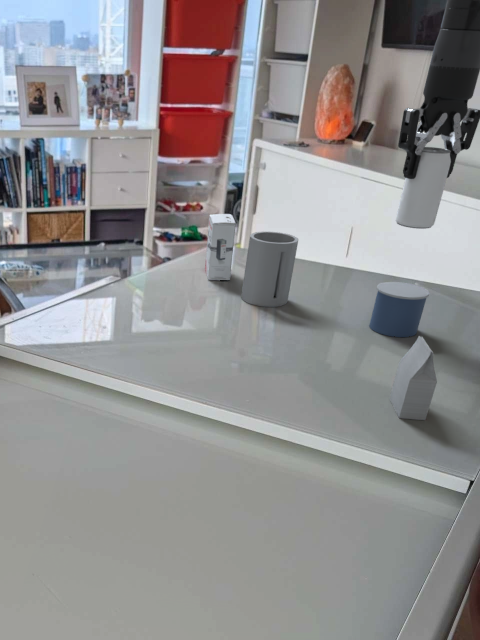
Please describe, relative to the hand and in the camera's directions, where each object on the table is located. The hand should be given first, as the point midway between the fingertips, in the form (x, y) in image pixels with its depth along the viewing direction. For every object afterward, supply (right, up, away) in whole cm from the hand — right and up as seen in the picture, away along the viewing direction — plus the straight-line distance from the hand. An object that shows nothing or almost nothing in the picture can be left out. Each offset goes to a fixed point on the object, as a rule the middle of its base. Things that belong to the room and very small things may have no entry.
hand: (426, 177), depth 128 cm
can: (0, -7, +4) cm, 8 cm away
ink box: (-30, -6, +36) cm, 47 cm away
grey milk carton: (-10, -42, -17) cm, 46 cm away
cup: (-22, -14, +24) cm, 35 cm away
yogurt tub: (-1, -23, +12) cm, 26 cm away
